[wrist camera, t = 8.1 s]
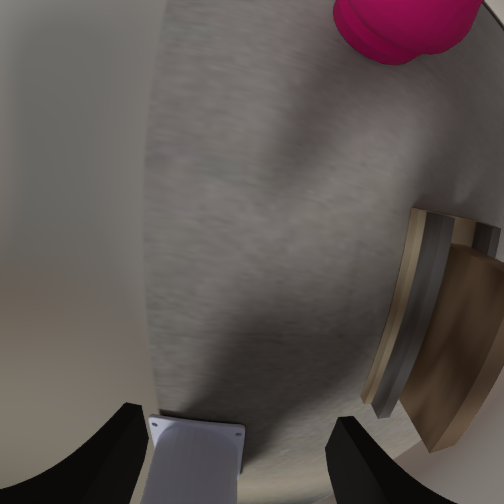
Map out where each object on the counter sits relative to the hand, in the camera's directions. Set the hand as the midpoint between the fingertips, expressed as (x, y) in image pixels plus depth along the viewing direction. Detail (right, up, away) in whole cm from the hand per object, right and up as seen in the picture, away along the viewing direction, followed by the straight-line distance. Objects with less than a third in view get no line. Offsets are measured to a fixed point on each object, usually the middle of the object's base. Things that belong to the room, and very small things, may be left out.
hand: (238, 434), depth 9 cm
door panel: (+13, +1, +9) cm, 16 cm away
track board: (+13, +2, +9) cm, 16 cm away
